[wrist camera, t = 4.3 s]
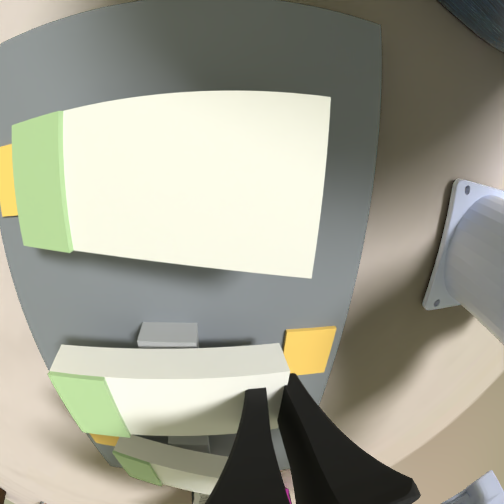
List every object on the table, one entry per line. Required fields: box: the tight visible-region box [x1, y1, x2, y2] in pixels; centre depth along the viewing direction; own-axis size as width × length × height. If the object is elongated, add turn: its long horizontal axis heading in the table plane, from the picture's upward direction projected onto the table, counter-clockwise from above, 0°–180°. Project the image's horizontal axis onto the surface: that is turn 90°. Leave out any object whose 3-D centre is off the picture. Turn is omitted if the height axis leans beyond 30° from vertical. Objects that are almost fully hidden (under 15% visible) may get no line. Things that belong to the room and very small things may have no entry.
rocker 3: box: [112, 434, 228, 495], centre depth 14 cm, size 9×4×2 cm, turn 87°
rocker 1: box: [12, 91, 331, 279], centre depth 7 cm, size 9×4×2 cm, turn 87°
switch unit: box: [0, 0, 382, 470], centre depth 13 cm, size 16×30×3 cm, turn 177°
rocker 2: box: [48, 343, 290, 438], centre depth 10 cm, size 9×4×2 cm, turn 87°
